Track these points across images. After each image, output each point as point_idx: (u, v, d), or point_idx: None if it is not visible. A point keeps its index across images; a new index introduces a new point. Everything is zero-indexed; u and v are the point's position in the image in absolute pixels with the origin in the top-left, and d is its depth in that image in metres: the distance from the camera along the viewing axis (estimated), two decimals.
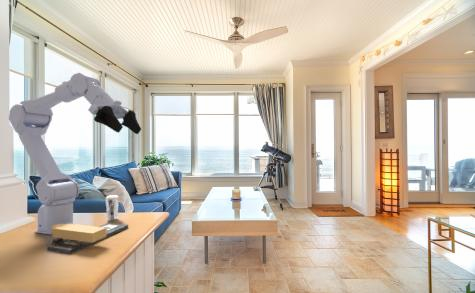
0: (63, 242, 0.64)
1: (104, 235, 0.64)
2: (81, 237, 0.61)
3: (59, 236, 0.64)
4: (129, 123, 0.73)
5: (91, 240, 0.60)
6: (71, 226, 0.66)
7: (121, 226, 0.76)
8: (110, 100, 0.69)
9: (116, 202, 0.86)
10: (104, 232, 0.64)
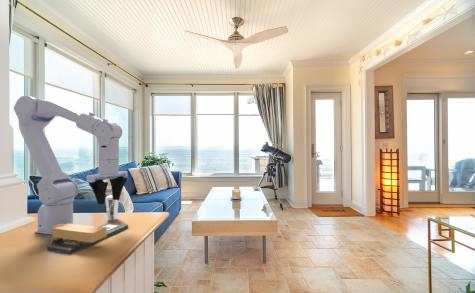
0: (63, 242, 0.64)
1: (104, 235, 0.64)
2: (81, 237, 0.61)
3: (59, 236, 0.64)
4: (115, 187, 0.78)
5: (91, 240, 0.60)
6: (71, 226, 0.66)
7: (121, 226, 0.76)
8: (113, 169, 0.74)
9: (116, 202, 0.86)
10: (104, 232, 0.64)
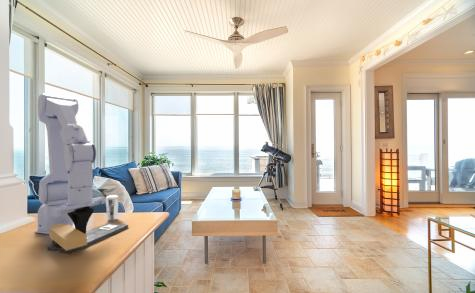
0: None
1: (84, 243, 0.59)
2: (61, 242, 0.58)
3: (52, 237, 0.63)
4: (78, 220, 0.64)
5: (65, 248, 0.56)
6: (64, 228, 0.64)
7: (121, 226, 0.76)
8: (85, 197, 0.63)
9: (116, 202, 0.86)
10: (84, 240, 0.59)
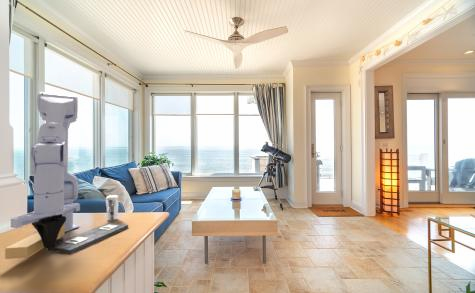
0: (63, 242, 0.64)
1: (24, 255, 0.52)
2: None
3: None
4: None
5: None
6: None
7: (121, 226, 0.76)
8: (53, 205, 0.55)
9: (116, 202, 0.86)
10: (24, 251, 0.52)
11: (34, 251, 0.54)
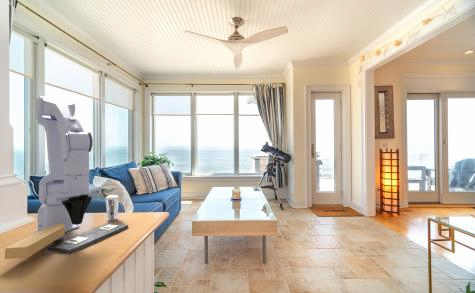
0: (63, 242, 0.64)
1: (23, 255, 0.52)
2: None
3: None
4: None
5: None
6: (49, 230, 0.62)
7: (121, 226, 0.76)
8: (81, 186, 0.63)
9: (116, 202, 0.86)
10: (23, 251, 0.52)
11: (34, 251, 0.54)
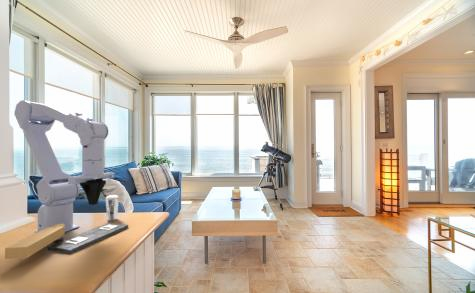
0: (63, 242, 0.64)
1: (23, 255, 0.52)
2: None
3: None
4: None
5: None
6: (49, 230, 0.62)
7: (121, 226, 0.76)
8: (97, 170, 0.71)
9: (116, 202, 0.86)
10: (23, 251, 0.52)
11: (34, 251, 0.54)
